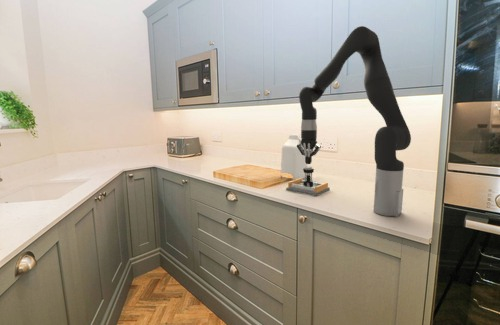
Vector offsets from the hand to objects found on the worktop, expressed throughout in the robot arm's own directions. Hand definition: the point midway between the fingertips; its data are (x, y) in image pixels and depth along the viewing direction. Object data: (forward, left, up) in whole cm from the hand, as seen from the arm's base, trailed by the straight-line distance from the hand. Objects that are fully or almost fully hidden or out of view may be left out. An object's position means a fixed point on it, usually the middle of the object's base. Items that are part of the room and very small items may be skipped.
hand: (308, 163), depth 137 cm
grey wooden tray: (0, 0, -12) cm, 12 cm away
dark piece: (0, 0, -12) cm, 12 cm away
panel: (0, 0, -14) cm, 14 cm away
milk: (+22, -21, -14) cm, 33 cm away
